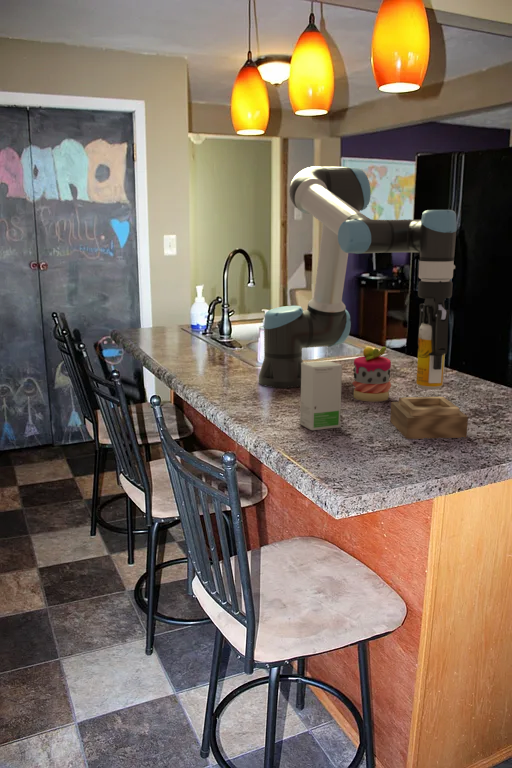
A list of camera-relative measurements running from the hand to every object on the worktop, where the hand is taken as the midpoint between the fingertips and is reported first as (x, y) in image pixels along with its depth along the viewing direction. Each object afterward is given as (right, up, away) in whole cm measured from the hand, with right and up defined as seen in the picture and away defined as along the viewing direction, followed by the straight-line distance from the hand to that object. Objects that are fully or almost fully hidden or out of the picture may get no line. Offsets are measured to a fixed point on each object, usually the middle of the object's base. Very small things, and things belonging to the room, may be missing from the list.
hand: (429, 379), depth 155 cm
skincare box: (-25, -12, +6) cm, 28 cm away
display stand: (0, -12, +3) cm, 12 cm away
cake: (-8, -5, +33) cm, 34 cm away
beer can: (0, -2, +1) cm, 2 cm away
